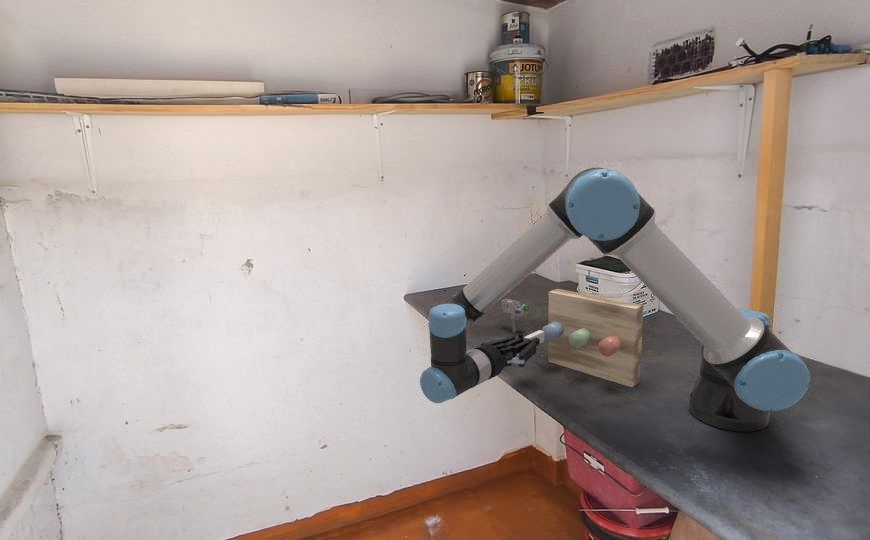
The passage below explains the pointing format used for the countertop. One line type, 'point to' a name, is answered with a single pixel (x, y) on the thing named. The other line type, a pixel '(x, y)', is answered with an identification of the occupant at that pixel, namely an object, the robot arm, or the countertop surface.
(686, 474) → the countertop surface
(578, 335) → the sage green button
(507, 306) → the mechanical component
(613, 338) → the brick red button
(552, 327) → the slate blue button
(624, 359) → the button panel
